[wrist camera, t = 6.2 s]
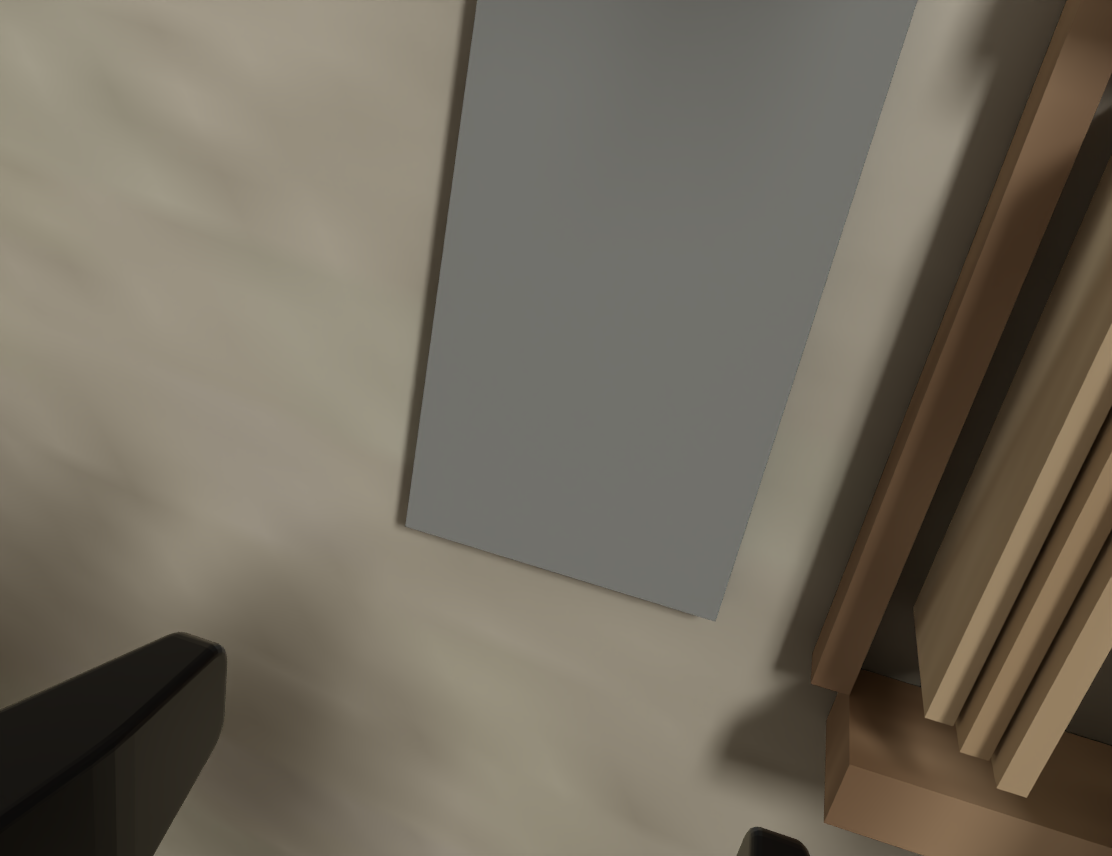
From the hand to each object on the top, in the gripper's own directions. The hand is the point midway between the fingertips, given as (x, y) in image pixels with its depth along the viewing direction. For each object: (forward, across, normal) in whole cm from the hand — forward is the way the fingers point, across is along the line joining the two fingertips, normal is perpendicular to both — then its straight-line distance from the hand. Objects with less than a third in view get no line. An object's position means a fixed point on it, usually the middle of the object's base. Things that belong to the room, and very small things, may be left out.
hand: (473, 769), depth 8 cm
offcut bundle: (+13, -7, 0) cm, 15 cm away
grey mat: (+13, +1, 0) cm, 13 cm away
